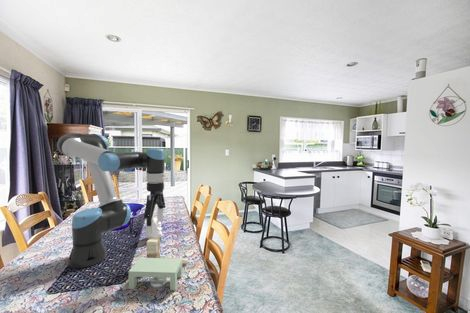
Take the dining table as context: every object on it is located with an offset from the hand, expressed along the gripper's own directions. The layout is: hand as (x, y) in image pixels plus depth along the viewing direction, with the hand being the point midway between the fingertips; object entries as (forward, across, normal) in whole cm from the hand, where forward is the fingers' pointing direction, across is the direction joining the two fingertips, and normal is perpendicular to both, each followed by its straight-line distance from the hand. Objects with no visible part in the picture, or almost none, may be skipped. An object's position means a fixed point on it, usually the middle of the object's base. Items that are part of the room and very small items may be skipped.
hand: (155, 226), depth 103 cm
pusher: (+17, -1, -6) cm, 18 cm away
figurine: (+17, +24, +10) cm, 31 cm away
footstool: (+17, -15, -6) cm, 23 cm away
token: (+17, -16, -7) cm, 25 cm away
